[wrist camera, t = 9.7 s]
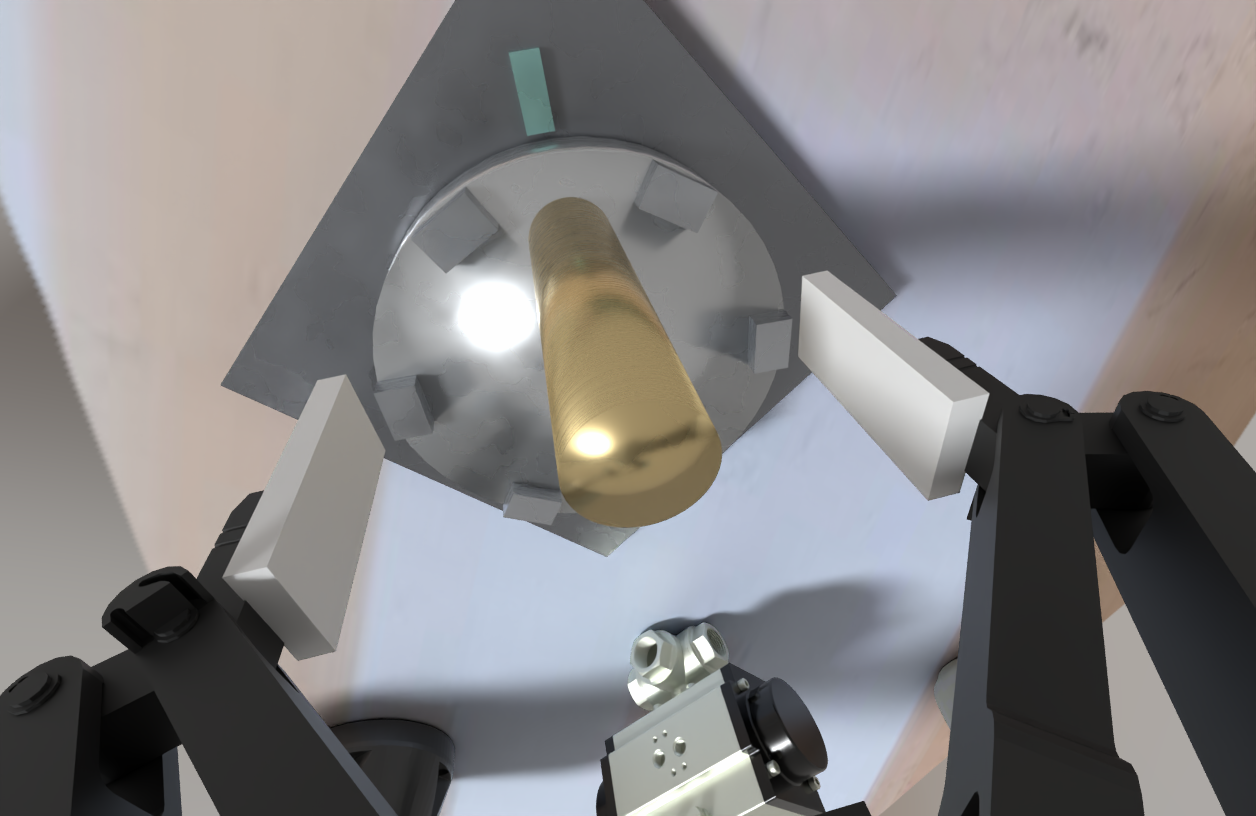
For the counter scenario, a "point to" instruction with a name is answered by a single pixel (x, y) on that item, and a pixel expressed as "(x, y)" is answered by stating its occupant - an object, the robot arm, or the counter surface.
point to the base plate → (500, 120)
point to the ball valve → (709, 737)
